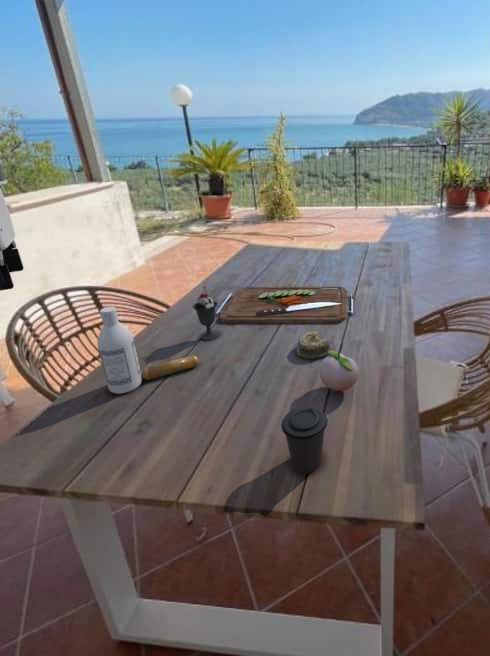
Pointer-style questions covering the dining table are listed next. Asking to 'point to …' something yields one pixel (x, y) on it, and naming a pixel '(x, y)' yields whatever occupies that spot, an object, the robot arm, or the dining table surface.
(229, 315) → the chopping board
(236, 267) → the dining table surface
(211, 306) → the sundae
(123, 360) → the bath foam
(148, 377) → the breadstick
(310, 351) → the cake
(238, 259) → the dining table surface
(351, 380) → the decorative fruit
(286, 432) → the coffee cup
